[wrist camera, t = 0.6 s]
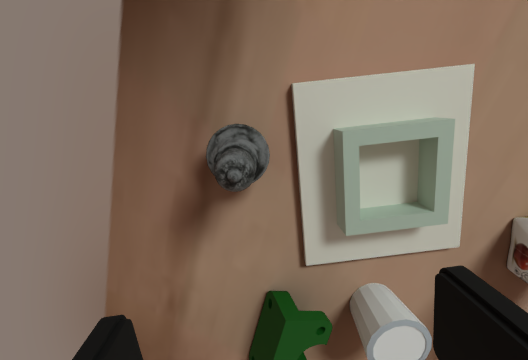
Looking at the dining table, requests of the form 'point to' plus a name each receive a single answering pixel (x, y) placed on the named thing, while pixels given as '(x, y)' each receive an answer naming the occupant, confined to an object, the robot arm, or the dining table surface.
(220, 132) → the chess piece
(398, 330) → the white cylinder
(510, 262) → the juice carton
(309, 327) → the clamp
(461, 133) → the holder
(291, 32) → the dining table surface
